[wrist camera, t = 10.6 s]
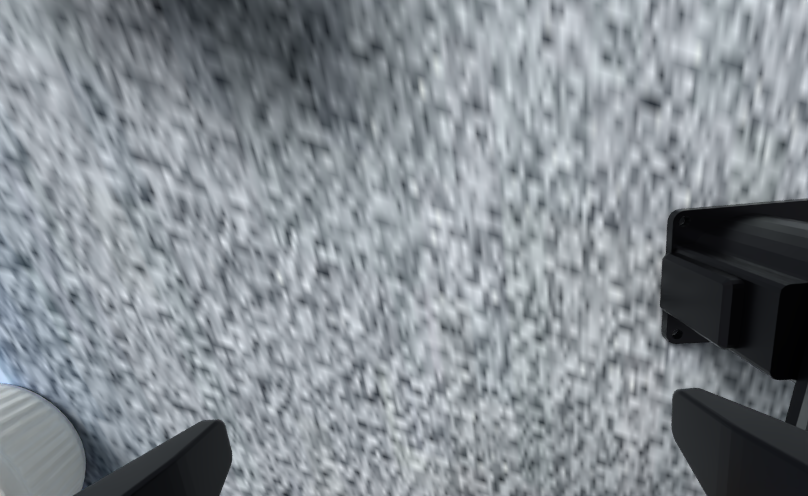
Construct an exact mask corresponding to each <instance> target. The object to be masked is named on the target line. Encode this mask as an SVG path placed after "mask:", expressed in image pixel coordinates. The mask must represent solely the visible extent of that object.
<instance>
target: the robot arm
mask: <svg viewBox="0 0 808 496" xmlns="http://www.w3.org/2000/svg"><path fill="white" fill-rule="evenodd" d="M683 216H684V217H685V221H684V223H683V224H682V225H679V219H680V218H681V217H683ZM660 307H661V308H662V309H663V315H662V335H663V337H664V338H665V339H667V340H668V341H669V342H671V343H674V344H683V343H701V342H712V343H713V344H715V345H716V346H718V347H719V348H721V349H724V350H726V349H729V350H730V351H732V352H733V353H735V354H736V355H738V356H739V357H741V358H742V359H744V360H746V361H747V362H749V363H750V364H752V365H753V366H755V367H756V368H758V369H759V370H761V371H762V372H764V373H765V374H767V375H768V376H770V377H771V378H773V379H776V380H789V379H790V380H791V381H793V382H794V383H796V384H795V388H794V391H793V395H792V399H791V402H790V406H789V410H788V413H787V417H786V421H785V422H783V421H781V420H778V419H776V418H773V417H771V416H768V415H766V414H763V413H761V412H758V411H756V410H753V409H751V408H748V407H746V406H743V405H741V404H738V403H736V402H733V401H731V400H728V399H725V398H723V397H720V396H718V395H715V394H713V393H710V392H708V391H705V390H703V389H700V388H690V389H678V390H676V391H675V392H674V394H673V398H672V424H671V426H672V433H673V436H674V439H675V441H676V443H677V445H678V446H679V448H680V450H681V452H682V453H683V455H684V457H685V458H686V460H687V462H688V464H689V465H690V467H691V469H692V471H693V472H694V474H695V476H696V477H697V479H698V481H699V483H700V484H701V486H702V488H703V490H704V491H705V493H706V495H707V496H808V199H796V200H784V201H772V202H760V203H748V204H736V205H724V206H712V207H700V208H688V209H678V210H675V211H674V212H672V213H671V214H670V216H669V218H668V224H667V242H666V255H665V256H664V258H663V261H662V279H661V298H660ZM677 329H678V331H677V333H676V334H675V335H672V332H673V331H674V330H677ZM231 463H232V450H231V446H230V442H229V438H228V434H227V430H226V426H225V424H224V422H223V421H222V420H219V419H217V420H203V421H200V422H198V423H197V424H195V425H193V426H192V427H190V428H188V429H186V430H185V431H183V432H181V433H180V434H178V435H176V436H174V437H173V438H171V439H169V440H167V441H166V442H164V443H162V444H161V445H159V446H157V447H155V448H154V449H152V450H150V451H149V452H147V453H145V454H143V455H142V456H140V457H138V458H136V459H135V460H133V461H131V462H130V463H128V464H126V465H124V466H123V467H121V468H119V469H118V470H116V471H114V472H112V473H111V474H109V475H107V476H105V477H104V478H102V479H100V480H99V481H97V482H95V483H93V484H92V485H90V486H88V487H87V488H85V489H83V490H81V491H80V492H78V493H76V494H74V495H73V496H219V495H220V493H221V490H222V487H223V485H224V482H225V480H226V477H227V474H228V472H229V469H230V466H231Z"/></svg>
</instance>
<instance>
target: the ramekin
mask: <svg viewBox="0 0 808 496" xmlns="http://www.w3.org/2000/svg"><path fill="white" fill-rule="evenodd" d="M85 470H86V456H85V451H84V448H83V444H82V441H81V439H80V437H79V435H78V433H77V431H76V430H75V428H74V426H73V425H72V423H71V422H70V421H69V419H68V418H67V417H66V416H65V415H64V414H63V413H62V412H61V411H60V410H59V409H58V408H57V407H56V406H55V405H53V404H52V403H51V402H49V401H48V400H47V399H45V398H43V397H42V396H40V395H38V394H36V393H34V392H32V391H30V390H27V389H25V388H22V387H19V386H15V385H10V384H2V383H0V496H73V495H74V494H76V493H78V492H80V491H81V490H82V487H83V482H84V479H85Z"/></svg>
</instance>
